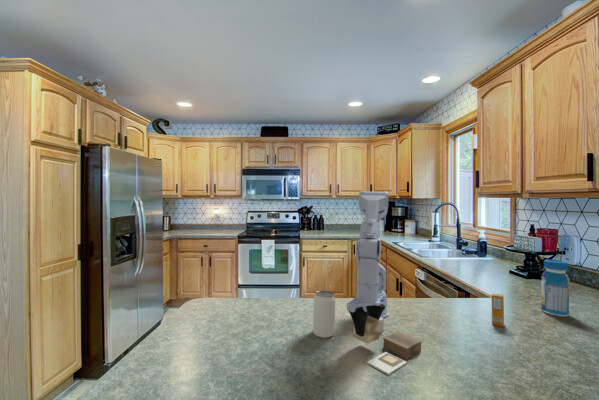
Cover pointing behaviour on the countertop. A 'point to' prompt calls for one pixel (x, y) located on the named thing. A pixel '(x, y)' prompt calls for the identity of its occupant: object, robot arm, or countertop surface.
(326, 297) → the can
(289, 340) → the countertop surface
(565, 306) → the supplement bottle
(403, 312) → the countertop surface
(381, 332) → the grey cube
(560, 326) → the countertop surface
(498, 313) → the supplement box
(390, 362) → the card
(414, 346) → the walnut block
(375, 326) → the maple cube
